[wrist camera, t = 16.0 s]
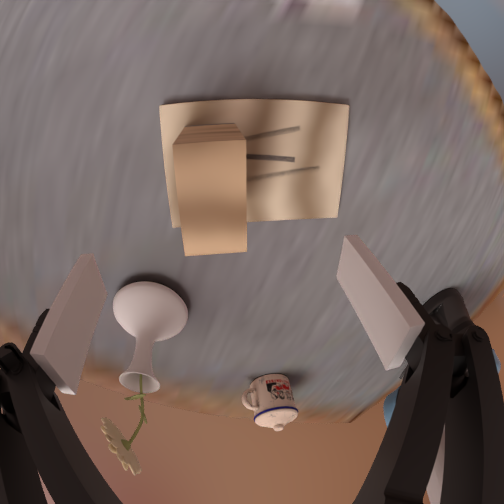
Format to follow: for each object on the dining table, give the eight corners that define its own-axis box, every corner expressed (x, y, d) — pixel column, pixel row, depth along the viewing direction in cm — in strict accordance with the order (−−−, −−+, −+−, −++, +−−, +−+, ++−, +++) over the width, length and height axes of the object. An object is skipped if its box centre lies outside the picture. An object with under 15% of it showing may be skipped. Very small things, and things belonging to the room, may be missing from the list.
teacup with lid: (297, 375, 56) (310, 421, 47) (273, 394, 60) (283, 437, 50) (251, 366, 52) (260, 418, 42) (229, 387, 55) (234, 435, 46)
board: (343, 104, 27) (349, 105, 26) (332, 212, 35) (337, 217, 34) (161, 105, 25) (159, 105, 24) (173, 221, 33) (172, 227, 32)
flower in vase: (117, 266, 35) (68, 444, 14) (196, 284, 39) (200, 467, 18) (113, 326, 41) (88, 470, 21) (178, 341, 45) (179, 485, 24)
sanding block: (185, 126, 26) (172, 144, 17) (234, 122, 26) (246, 139, 18) (191, 205, 31) (185, 256, 22) (236, 202, 31) (246, 251, 23)
